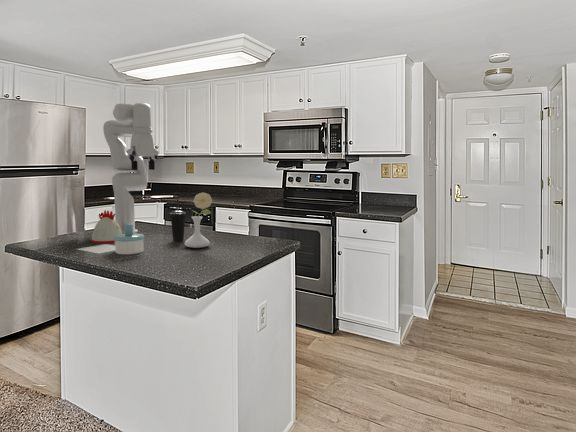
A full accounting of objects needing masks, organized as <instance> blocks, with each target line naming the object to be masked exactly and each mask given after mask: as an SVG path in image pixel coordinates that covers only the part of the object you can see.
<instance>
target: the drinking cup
mask: <svg viewBox="0 0 576 432" xmlns="http://www.w3.org/2000/svg"><path fill="white" fill-rule="evenodd" d="M179 207H180V206H179V199H176V210H172V211H171V212H169V215H170V221H171V222H170V223H171V232H172V233H171V234H172V241H173V242H183V241H184V237H185V226H186V214H187V212H185V211H183V210H180V209H179Z"/></svg>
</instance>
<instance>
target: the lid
mask: <svg viewBox="0 0 576 432" xmlns="http://www.w3.org/2000/svg"><path fill="white" fill-rule="evenodd" d="M142 239H143V240H145V234H143V233H138V232H137V233H133V224H131V223H128V224H125V234H119V235H115V236H114V240H116V241H137V240H142Z"/></svg>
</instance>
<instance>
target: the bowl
mask: <svg viewBox="0 0 576 432" xmlns="http://www.w3.org/2000/svg"><path fill="white" fill-rule="evenodd" d="M144 244H145V243H144V239H142V240H137V241H116V240H115V242H114V246H115V251H114V252H115V253H116V254H118V255H134V254H135V255H136V256H137V255H138V254H141V253H142V252H144V248H145V247H144Z"/></svg>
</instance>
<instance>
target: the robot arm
mask: <svg viewBox="0 0 576 432" xmlns="http://www.w3.org/2000/svg"><path fill="white" fill-rule="evenodd" d="M112 115H113V117H114V119H115V120H114V119H113V120H107V121H105V122H104V123H103V125H102V129H103V130H102V131H103V135H104V139H105V141H106V143H107V145H108V147H109V151H110V158H111V165H112V169H113V170H114V171H116V172H118V173H115V174H114V175H113V176H112V177H111V184H112V189H113V196H114V197H113V198H114V214H115V216H114V218H115V219H114V220H115V221H116V222H117V223H118V225H119V226H120V228H121V231H122V234H125V224H128V223H131V224H133V233H138V232H139V230H138V229H137V228H135V227H136V223H135V222H136V221H135V218H136V217H135V200H134V197H133V195H132V194H131V193H130V192H135V191H137V192H140V191H144V190H145V191H146V190H147V188H148V179H147V172H146V165H145V160H144V158H148V170H150V171H151V170H153V171H155V169H156V168H155V162H156V161H157V160H156V159H157V158H158V155H159V150H157V149H155V147H154V139H153V135H152V133H153V130H152V119H151V118H152V117H151V116H152V115H151V105H150V104H148V103H145V102H144V103H142V102H140V103H139V102H136V103H134V104H131V103H116V104H115V105H114V108H113V110H112ZM120 137H121V138H122V137H123V138H130V148H128V146H127V144H125V142H124V141H123V140H122V139H121V138H120Z"/></svg>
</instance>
